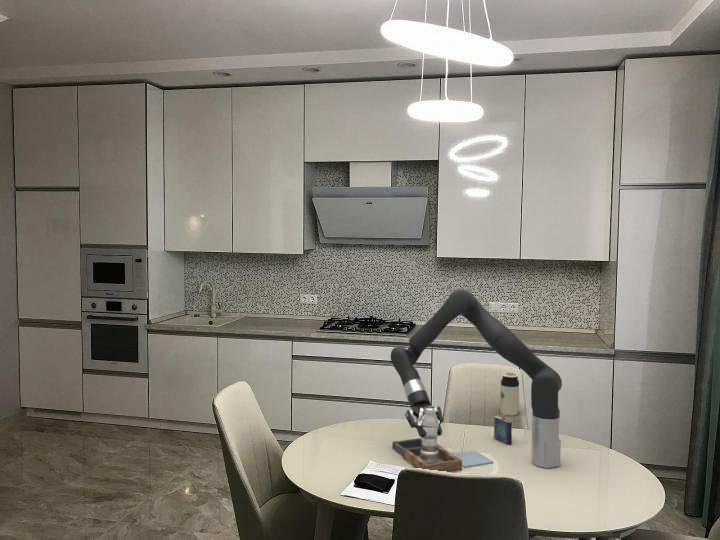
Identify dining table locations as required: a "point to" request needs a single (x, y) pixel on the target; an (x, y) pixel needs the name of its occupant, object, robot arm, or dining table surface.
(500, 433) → the flask
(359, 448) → the dining table surface
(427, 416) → the plastic bottle
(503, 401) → the travel mug
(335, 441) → the dining table surface
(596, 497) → the dining table surface
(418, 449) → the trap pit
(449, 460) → the walled lane
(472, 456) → the pad
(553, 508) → the dining table surface
